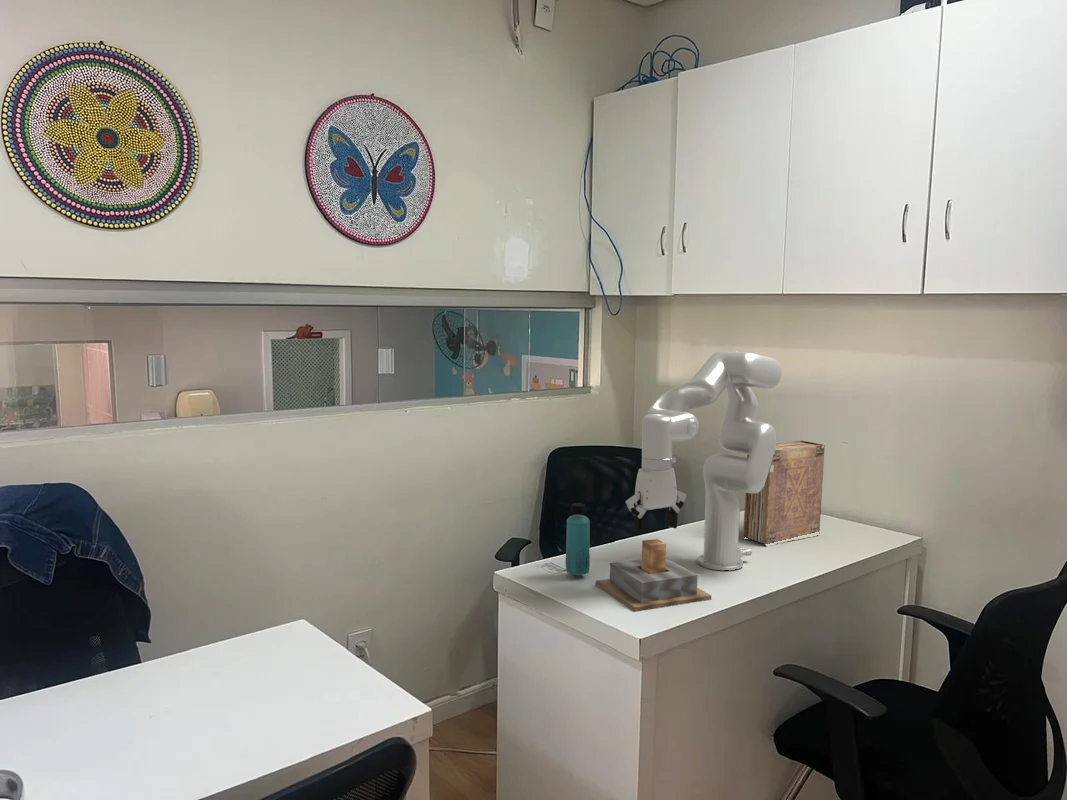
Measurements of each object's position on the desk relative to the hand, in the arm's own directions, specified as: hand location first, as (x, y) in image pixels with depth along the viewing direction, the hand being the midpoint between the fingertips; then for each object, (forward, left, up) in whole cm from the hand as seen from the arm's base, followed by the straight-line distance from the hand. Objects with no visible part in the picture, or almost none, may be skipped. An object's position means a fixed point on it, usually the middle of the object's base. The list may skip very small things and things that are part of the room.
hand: (656, 529), depth 198 cm
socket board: (+1, 0, -16) cm, 16 cm away
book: (-64, -27, -16) cm, 71 cm away
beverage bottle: (+14, -17, -16) cm, 27 cm away
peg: (+1, 0, -15) cm, 15 cm away
